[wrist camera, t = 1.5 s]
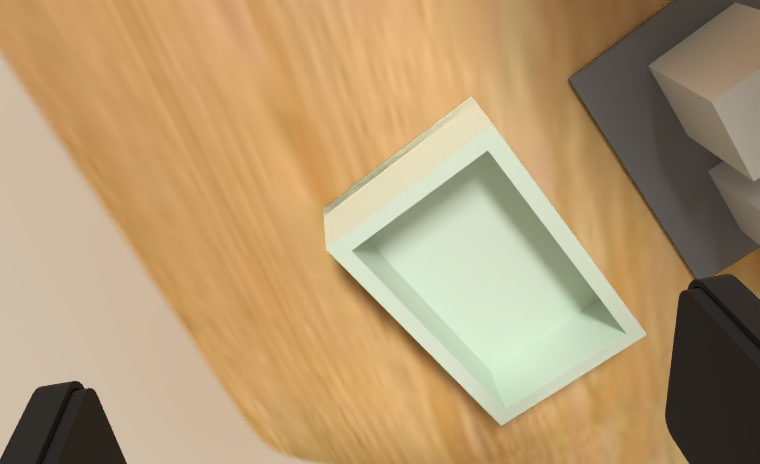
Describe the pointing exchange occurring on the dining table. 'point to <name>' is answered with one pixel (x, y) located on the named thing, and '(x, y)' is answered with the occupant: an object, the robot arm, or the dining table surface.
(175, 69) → the dining table surface
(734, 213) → the grey block
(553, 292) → the bin
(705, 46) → the stone
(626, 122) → the mat
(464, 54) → the dining table surface
